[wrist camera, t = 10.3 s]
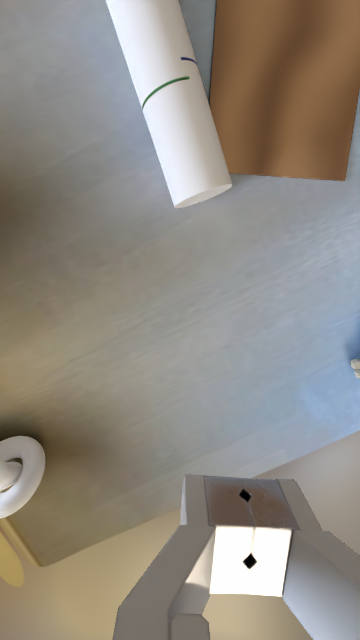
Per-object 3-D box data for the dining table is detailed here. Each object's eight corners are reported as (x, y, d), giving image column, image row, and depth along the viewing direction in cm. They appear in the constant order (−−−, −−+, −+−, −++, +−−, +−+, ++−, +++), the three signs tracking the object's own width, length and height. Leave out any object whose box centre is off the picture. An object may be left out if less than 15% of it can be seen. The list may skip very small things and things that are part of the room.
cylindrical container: (244, 181, 36) (172, -72, 31) (203, 189, 32) (112, -102, 27) (203, 202, 41) (137, -8, 36) (163, 211, 37) (82, -25, 32)
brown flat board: (204, 171, 39) (204, 170, 39) (225, -117, 33) (225, -121, 33) (343, 181, 40) (345, 180, 39) (388, -102, 34) (390, -107, 33)
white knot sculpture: (61, 427, 46) (34, 467, 38) (45, 493, 49) (16, 545, 40) (-14, 407, 46) (-60, 443, 37) (-27, 475, 48) (-73, 524, 39)
